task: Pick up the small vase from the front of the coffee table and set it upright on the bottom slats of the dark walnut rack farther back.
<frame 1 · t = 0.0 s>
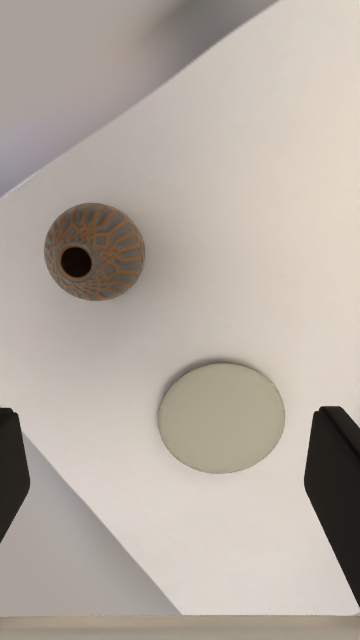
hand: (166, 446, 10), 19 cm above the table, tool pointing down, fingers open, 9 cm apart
vase: (108, 248, 27), on the table
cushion: (219, 411, 32), on the table
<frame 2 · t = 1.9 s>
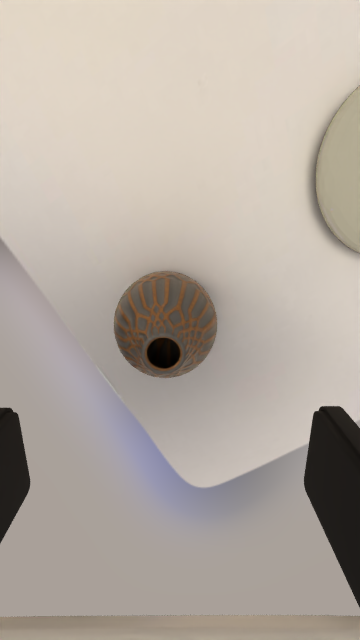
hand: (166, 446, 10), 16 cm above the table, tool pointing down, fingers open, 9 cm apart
vase: (167, 308, 25), on the table
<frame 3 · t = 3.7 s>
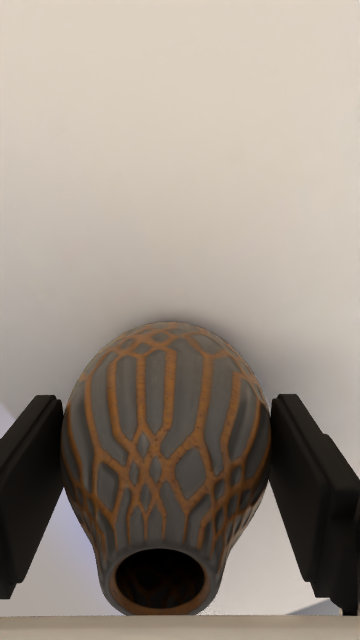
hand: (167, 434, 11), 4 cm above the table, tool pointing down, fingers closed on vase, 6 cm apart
vase: (170, 373, 15), on the table, touching gripper
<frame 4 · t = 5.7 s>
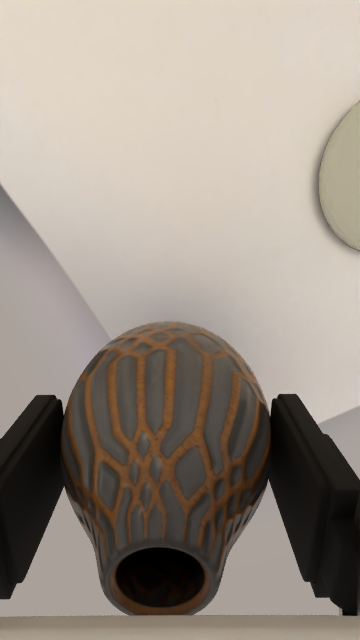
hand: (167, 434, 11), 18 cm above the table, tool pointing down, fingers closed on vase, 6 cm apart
vase: (170, 373, 15), point 14 cm above the table, touching gripper
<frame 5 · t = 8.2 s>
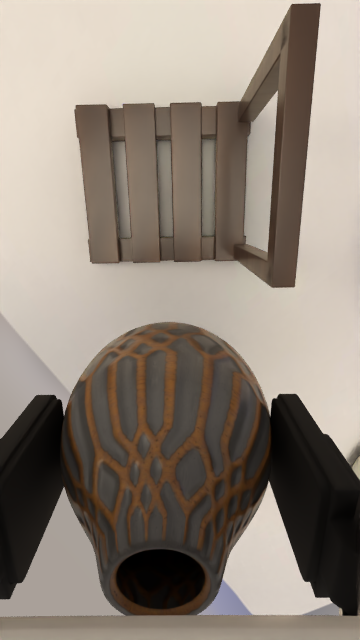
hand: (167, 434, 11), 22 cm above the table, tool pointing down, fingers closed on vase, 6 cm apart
vase: (170, 373, 15), point 17 cm above the table, touching gripper
rack: (166, 190, 29), on the table
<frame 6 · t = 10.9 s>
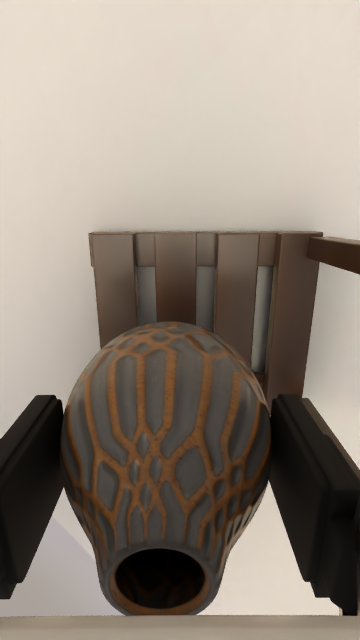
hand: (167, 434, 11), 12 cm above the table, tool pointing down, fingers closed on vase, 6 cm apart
vase: (170, 373, 15), point 8 cm above the table, touching gripper
rack: (202, 320, 22), on the table
when the fingers open (7 cm above the table, at t = 12.8 s): vase stays where it is, resting on rack.
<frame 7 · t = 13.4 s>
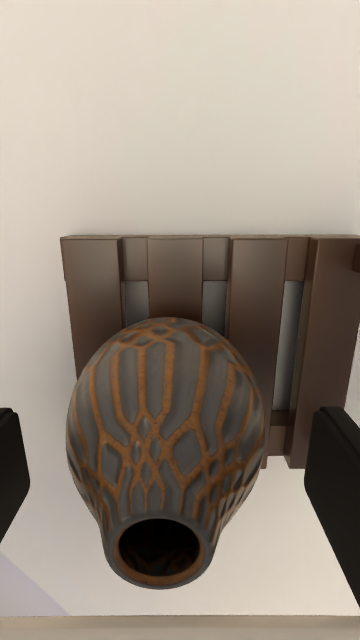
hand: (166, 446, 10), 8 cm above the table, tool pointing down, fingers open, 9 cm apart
vase: (170, 367, 15), point 2 cm above the table, touching rack
rack: (209, 347, 18), on the table
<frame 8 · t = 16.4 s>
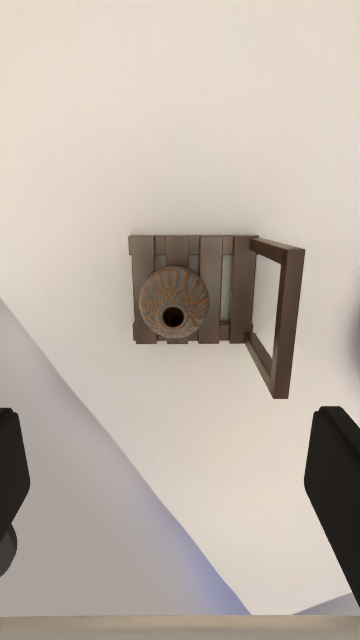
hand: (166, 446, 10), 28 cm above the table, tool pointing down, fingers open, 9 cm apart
vase: (174, 293, 35), point 2 cm above the table, touching rack
rack: (192, 288, 37), on the table
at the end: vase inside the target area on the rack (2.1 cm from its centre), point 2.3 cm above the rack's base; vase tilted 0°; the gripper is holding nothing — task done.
